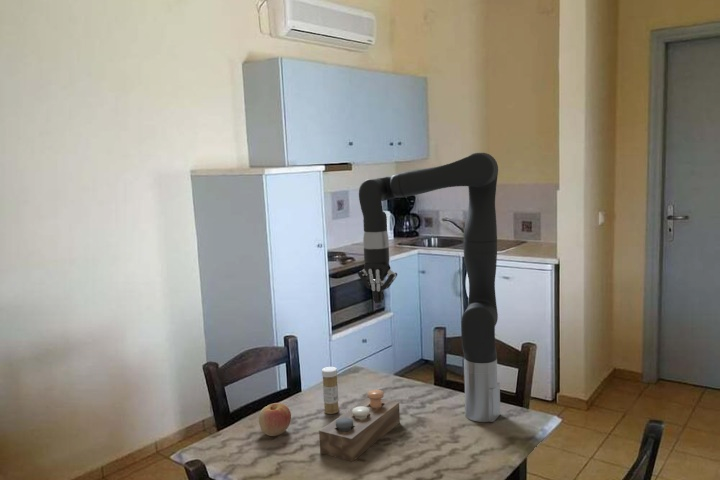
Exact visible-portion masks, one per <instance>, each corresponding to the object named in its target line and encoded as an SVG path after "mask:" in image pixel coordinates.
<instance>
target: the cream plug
mask: <svg viewBox="0 0 720 480" xmlns="http://www.w3.org/2000/svg"><path fill="white" fill-rule="evenodd" d="M352 408H353V407H352ZM352 414H353V416H355V418H356V419H360V420H364V419H366V418H367V415H369V408H367V407H363V406H361V407H355V408H353V410H352Z"/></svg>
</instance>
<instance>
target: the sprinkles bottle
mask: <svg viewBox="0 0 720 480" xmlns="http://www.w3.org/2000/svg"><path fill="white" fill-rule="evenodd" d="M321 376H322V389H323V402H324V403H323V405H324V406H323V407H324V408H323V410H324V413H325V414H328V415H333V414H337V413H339V411H340V408H339V385H338V368H337V367H334V366H326V367H323V368H322V369H321Z"/></svg>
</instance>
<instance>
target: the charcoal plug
mask: <svg viewBox="0 0 720 480" xmlns="http://www.w3.org/2000/svg"><path fill="white" fill-rule="evenodd" d="M336 427H337V428H339V431H343V432H348V431H349V430H351V427H353V420H352V419H351V418H340V419H338V420H336Z"/></svg>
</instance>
